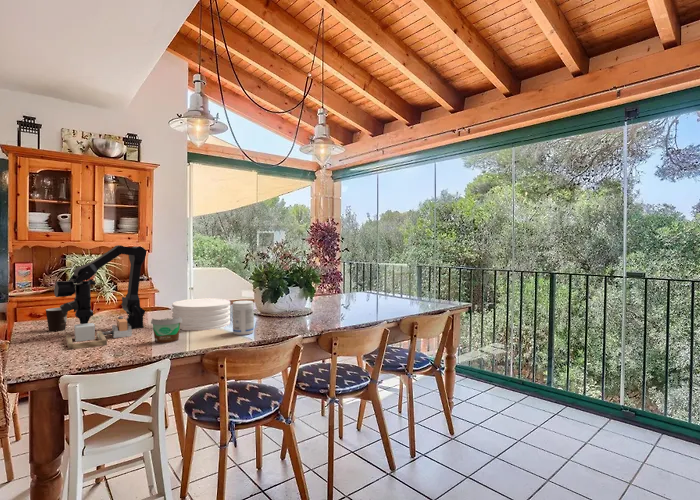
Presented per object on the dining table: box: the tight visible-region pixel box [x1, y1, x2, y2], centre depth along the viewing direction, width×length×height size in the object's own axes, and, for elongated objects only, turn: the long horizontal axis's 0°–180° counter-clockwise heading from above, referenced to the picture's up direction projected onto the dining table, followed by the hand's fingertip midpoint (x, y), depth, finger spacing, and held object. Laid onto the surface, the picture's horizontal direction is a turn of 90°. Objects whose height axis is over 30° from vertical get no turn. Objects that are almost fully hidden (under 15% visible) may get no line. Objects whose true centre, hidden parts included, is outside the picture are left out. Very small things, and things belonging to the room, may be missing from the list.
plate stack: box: [171, 297, 231, 331], centre depth 213 cm, size 28×28×12 cm
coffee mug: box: [45, 307, 69, 333], centre depth 197 cm, size 12×9×10 cm
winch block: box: [102, 323, 133, 339], centre depth 186 cm, size 11×7×4 cm, turn 127°
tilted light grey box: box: [74, 322, 96, 343], centre depth 180 cm, size 7×7×6 cm
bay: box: [65, 330, 108, 350], centre depth 175 cm, size 13×20×2 cm, turn 37°
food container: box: [150, 317, 182, 344], centre depth 177 cm, size 12×6×10 cm, turn 117°
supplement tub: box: [232, 300, 255, 336], centre depth 195 cm, size 10×10×15 cm
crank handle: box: [116, 315, 127, 331], centre depth 187 cm, size 3×9×5 cm, turn 37°
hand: (83, 329), depth 186 cm, fingers closed
